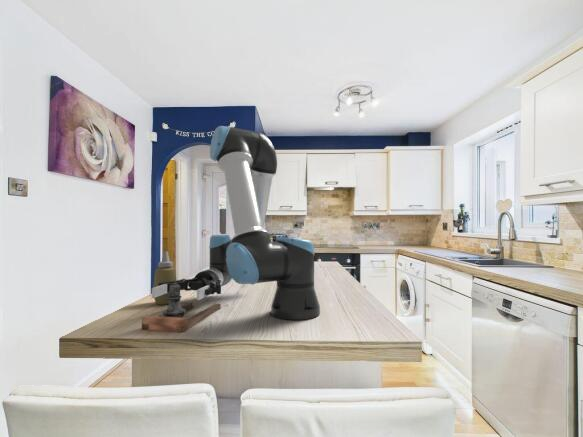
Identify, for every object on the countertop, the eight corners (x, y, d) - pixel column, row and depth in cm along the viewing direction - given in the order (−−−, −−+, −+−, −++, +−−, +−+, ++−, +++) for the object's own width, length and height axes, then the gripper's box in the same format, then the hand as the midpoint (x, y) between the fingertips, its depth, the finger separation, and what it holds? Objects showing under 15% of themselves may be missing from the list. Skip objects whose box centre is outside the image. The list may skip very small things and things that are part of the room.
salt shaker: (177, 328, 80) (178, 282, 80) (158, 326, 81) (158, 281, 81) (189, 321, 85) (190, 278, 86) (171, 320, 87) (171, 278, 87)
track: (220, 308, 99) (220, 299, 99) (183, 332, 77) (183, 320, 77) (187, 306, 101) (187, 297, 102) (141, 329, 79) (141, 317, 79)
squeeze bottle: (171, 306, 102) (172, 252, 103) (148, 306, 102) (148, 252, 103) (181, 300, 110) (181, 250, 111) (158, 300, 110) (159, 250, 111)
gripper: (242, 292, 103) (217, 309, 82) (175, 290, 107) (134, 305, 86) (243, 270, 103) (217, 281, 82) (175, 268, 107) (134, 279, 86)
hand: (175, 294), depth 84 cm, fingers open, 13 cm apart
